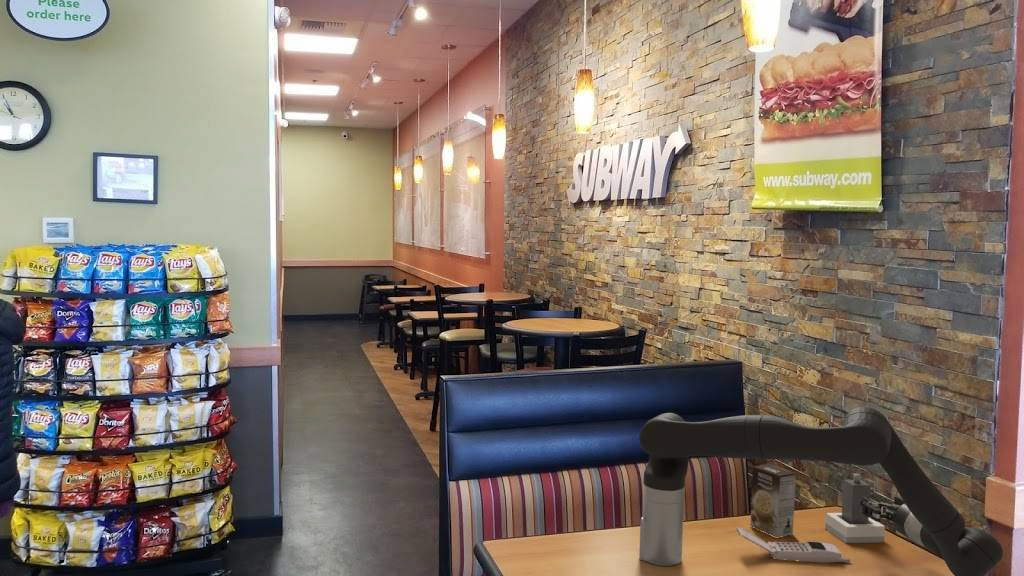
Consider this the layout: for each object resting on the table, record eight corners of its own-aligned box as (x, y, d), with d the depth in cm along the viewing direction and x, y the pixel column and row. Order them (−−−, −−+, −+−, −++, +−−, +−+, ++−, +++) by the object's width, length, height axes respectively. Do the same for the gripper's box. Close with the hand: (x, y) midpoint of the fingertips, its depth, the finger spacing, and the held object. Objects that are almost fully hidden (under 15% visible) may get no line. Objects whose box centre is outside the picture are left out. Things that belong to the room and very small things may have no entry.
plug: (850, 532, 197) (853, 477, 196) (841, 526, 202) (843, 472, 201) (867, 532, 198) (870, 477, 197) (858, 525, 202) (860, 471, 201)
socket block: (845, 543, 194) (846, 527, 194) (825, 528, 204) (825, 513, 204) (884, 542, 195) (885, 526, 195) (861, 527, 205) (862, 512, 205)
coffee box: (748, 527, 204) (751, 465, 203) (766, 523, 207) (769, 462, 206) (776, 539, 195) (779, 475, 195) (794, 535, 199) (797, 472, 198)
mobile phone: (735, 525, 188) (843, 530, 187) (734, 549, 189) (842, 554, 187) (740, 535, 182) (852, 540, 181) (739, 560, 183) (851, 565, 181)
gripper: (952, 508, 174) (907, 485, 190) (892, 509, 172) (851, 485, 188) (950, 542, 174) (905, 515, 190) (889, 543, 172) (849, 516, 188)
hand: (878, 500), depth 189 cm, fingers open, 8 cm apart
